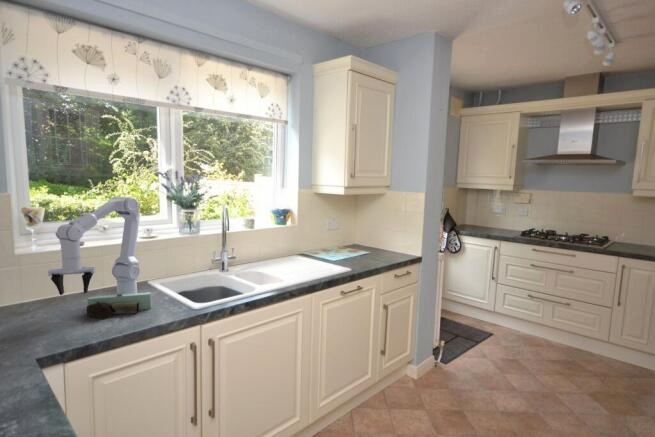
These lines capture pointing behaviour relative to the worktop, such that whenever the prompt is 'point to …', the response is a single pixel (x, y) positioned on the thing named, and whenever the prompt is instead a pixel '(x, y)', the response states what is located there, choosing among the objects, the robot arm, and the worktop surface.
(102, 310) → the dark brown elongated lump
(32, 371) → the worktop surface
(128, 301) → the block
